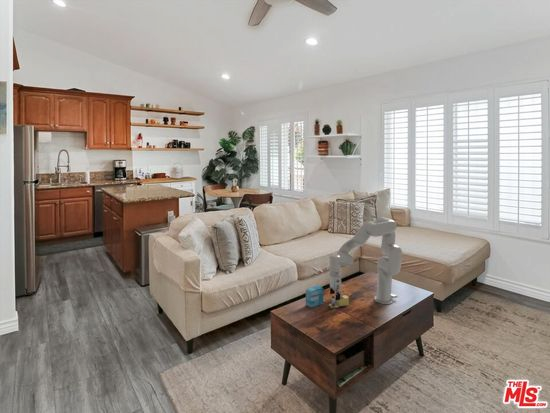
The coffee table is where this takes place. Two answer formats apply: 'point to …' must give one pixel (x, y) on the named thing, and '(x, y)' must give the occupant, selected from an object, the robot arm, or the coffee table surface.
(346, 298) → the yellow and grey block
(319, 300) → the data package
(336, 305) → the beige striped flat block
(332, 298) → the shiny grey cylinder
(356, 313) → the coffee table surface
